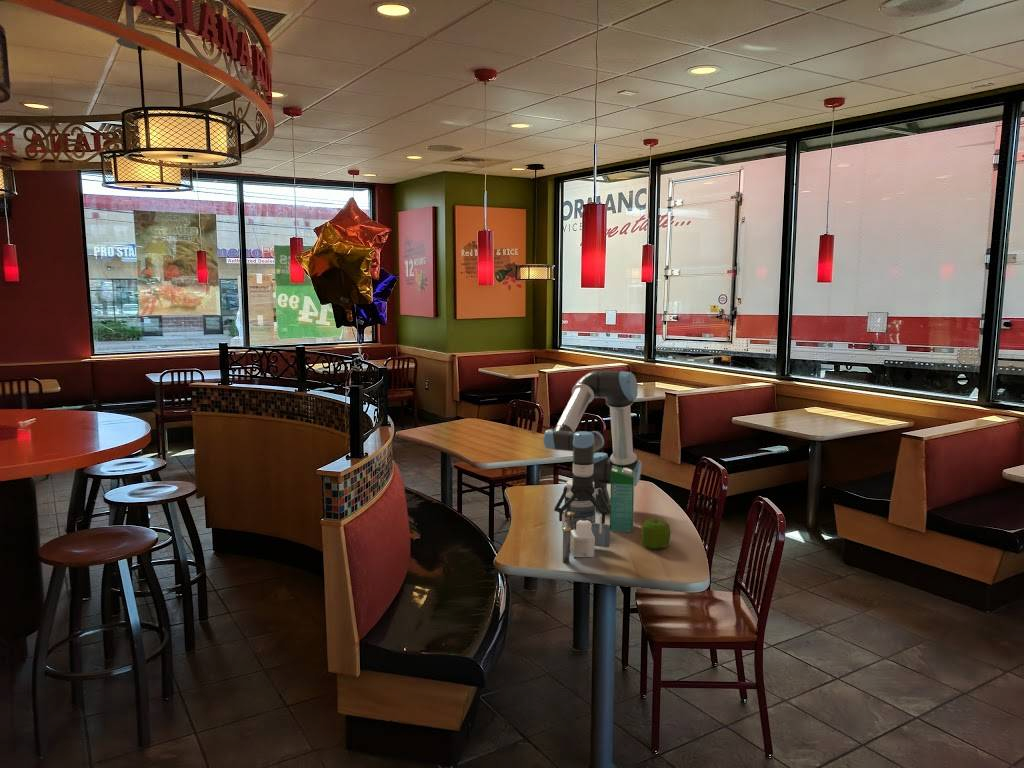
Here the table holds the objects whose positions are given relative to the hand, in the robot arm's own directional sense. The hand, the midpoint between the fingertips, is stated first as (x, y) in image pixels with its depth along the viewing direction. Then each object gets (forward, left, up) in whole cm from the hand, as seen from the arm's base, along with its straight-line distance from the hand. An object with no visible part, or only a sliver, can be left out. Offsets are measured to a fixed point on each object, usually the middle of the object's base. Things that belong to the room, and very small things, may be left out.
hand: (581, 531), depth 264 cm
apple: (-12, +27, -9) cm, 31 cm away
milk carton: (-31, +14, -9) cm, 35 cm away
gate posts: (0, -5, -9) cm, 10 cm away
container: (0, 0, -9) cm, 9 cm away
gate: (-7, +3, -8) cm, 11 cm away
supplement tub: (-31, -3, -9) cm, 33 cm away
